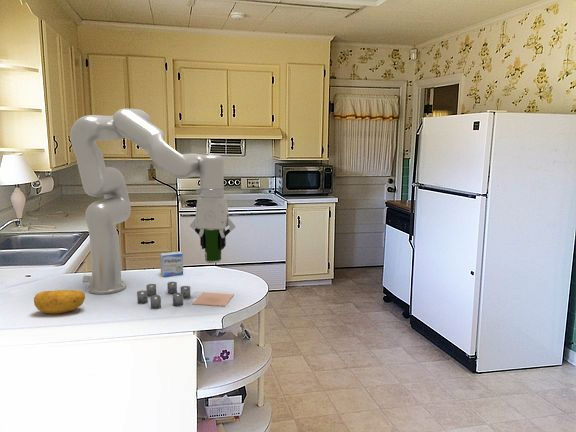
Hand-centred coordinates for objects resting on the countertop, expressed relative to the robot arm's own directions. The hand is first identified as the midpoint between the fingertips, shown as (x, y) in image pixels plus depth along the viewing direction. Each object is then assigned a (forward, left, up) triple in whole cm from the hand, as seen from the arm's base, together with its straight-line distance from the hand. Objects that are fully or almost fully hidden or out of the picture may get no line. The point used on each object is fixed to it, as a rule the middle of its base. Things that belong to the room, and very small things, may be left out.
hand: (213, 247), depth 159 cm
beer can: (0, 0, -5) cm, 5 cm away
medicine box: (-24, +24, -18) cm, 38 cm away
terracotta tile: (0, 0, -18) cm, 18 cm away
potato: (-43, -19, -18) cm, 50 cm away
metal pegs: (-16, -3, -18) cm, 24 cm away
